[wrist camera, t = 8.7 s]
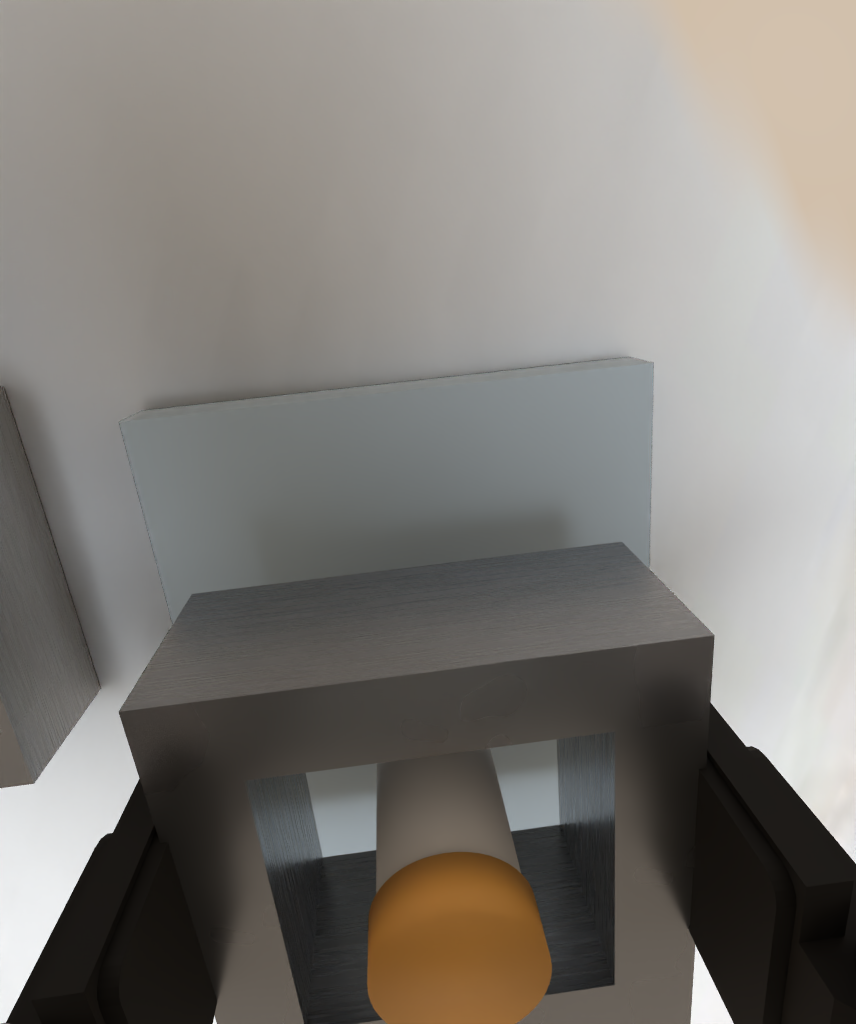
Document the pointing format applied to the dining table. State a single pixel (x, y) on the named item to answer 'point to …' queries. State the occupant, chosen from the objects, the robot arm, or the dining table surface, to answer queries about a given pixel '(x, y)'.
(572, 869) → the end link
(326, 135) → the dining table surface
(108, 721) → the dining table surface
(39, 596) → the link
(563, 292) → the dining table surface
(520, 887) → the keeper
